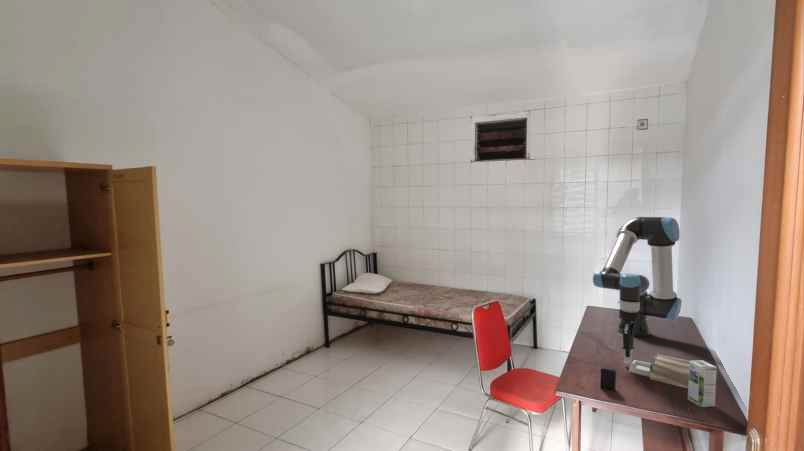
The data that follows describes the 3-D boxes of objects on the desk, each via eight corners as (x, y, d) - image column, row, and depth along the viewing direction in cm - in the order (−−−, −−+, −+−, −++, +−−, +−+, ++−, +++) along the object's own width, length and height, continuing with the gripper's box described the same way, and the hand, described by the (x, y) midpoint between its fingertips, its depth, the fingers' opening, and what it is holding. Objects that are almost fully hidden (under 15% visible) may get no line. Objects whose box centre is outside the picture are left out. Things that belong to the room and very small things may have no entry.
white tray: (634, 365, 171) (634, 359, 171) (672, 374, 162) (672, 368, 161) (629, 372, 163) (629, 367, 163) (669, 382, 154) (669, 376, 154)
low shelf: (655, 366, 168) (656, 353, 168) (696, 375, 159) (696, 362, 159) (649, 379, 156) (650, 365, 156) (692, 389, 147) (693, 375, 147)
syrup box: (686, 399, 140) (688, 360, 139) (702, 398, 141) (703, 359, 140) (700, 407, 135) (701, 367, 134) (716, 406, 135) (717, 366, 134)
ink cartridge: (615, 389, 148) (616, 369, 148) (614, 391, 147) (615, 371, 146) (601, 385, 151) (602, 365, 151) (600, 387, 150) (601, 367, 149)
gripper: (622, 305, 174) (621, 356, 176) (615, 311, 164) (614, 366, 166) (642, 308, 169) (640, 361, 171) (636, 315, 159) (634, 370, 161)
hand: (627, 363), depth 168 cm, fingers closed
